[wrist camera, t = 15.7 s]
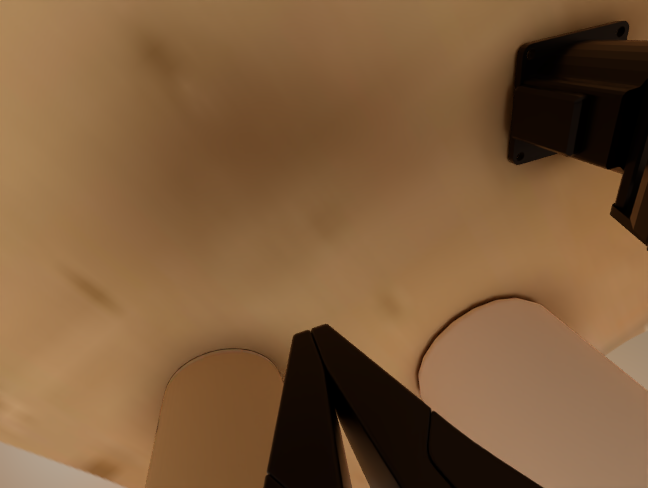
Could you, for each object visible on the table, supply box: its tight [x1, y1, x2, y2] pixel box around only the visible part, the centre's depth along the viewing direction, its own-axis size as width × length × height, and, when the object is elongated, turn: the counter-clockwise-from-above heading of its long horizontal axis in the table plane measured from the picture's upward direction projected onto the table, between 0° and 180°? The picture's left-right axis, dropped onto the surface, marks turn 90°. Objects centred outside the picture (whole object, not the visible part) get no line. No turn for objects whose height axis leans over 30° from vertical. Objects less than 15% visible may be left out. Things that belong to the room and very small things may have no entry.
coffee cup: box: [145, 349, 284, 488], centre depth 21 cm, size 9×9×12 cm
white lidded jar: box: [418, 298, 648, 488], centre depth 23 cm, size 12×12×20 cm
